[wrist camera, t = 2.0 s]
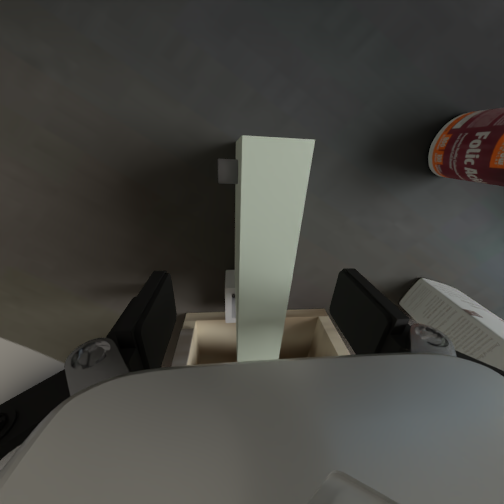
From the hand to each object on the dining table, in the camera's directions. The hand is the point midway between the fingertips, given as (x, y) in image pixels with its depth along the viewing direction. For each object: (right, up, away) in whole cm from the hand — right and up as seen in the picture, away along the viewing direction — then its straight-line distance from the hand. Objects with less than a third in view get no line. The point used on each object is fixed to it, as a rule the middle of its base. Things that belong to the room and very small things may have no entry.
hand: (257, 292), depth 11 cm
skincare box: (+21, -3, +14) cm, 25 cm away
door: (-1, +4, +8) cm, 9 cm away
